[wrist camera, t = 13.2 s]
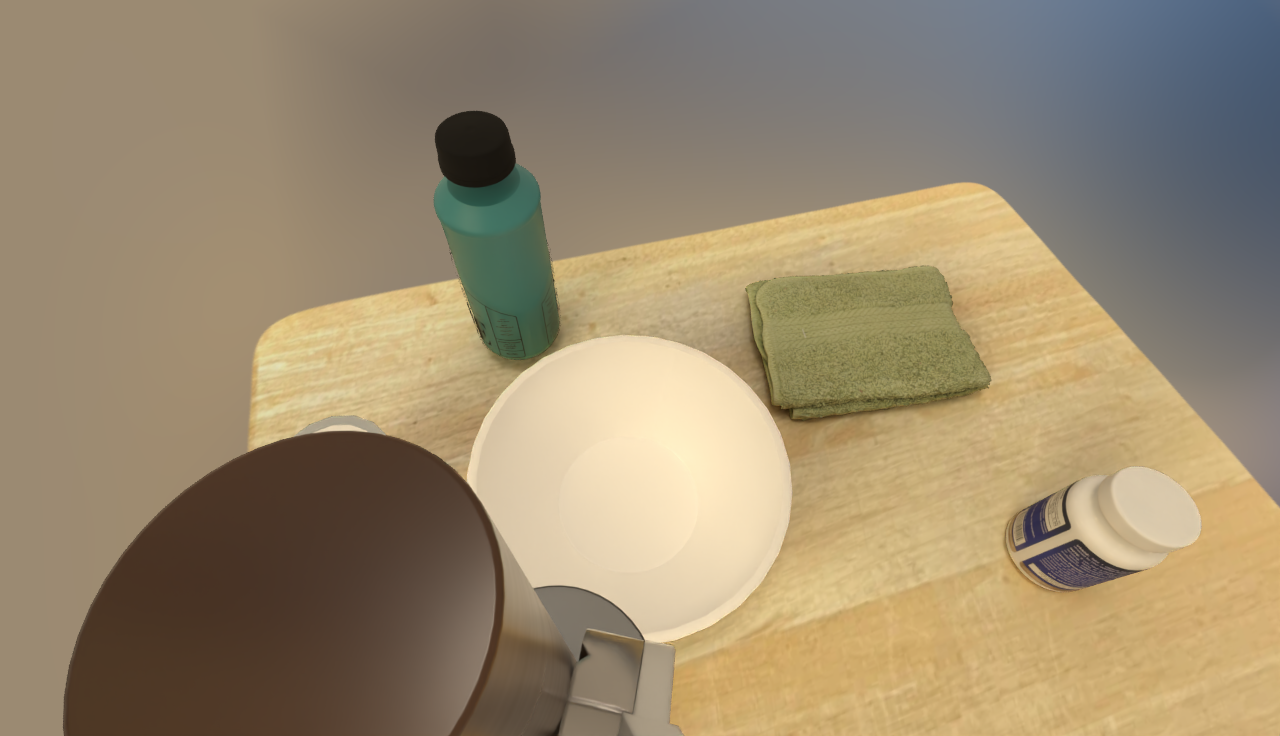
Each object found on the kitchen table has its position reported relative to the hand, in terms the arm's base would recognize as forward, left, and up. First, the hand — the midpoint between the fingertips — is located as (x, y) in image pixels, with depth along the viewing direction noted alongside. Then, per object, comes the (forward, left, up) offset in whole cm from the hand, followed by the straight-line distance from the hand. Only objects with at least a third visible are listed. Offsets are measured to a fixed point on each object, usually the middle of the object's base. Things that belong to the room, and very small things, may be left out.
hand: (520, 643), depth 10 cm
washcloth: (-4, +33, -30) cm, 44 cm away
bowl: (-7, +10, -30) cm, 32 cm away
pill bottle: (+15, +29, -30) cm, 44 cm away
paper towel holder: (0, -1, -10) cm, 10 cm away
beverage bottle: (-23, +13, -30) cm, 40 cm away
